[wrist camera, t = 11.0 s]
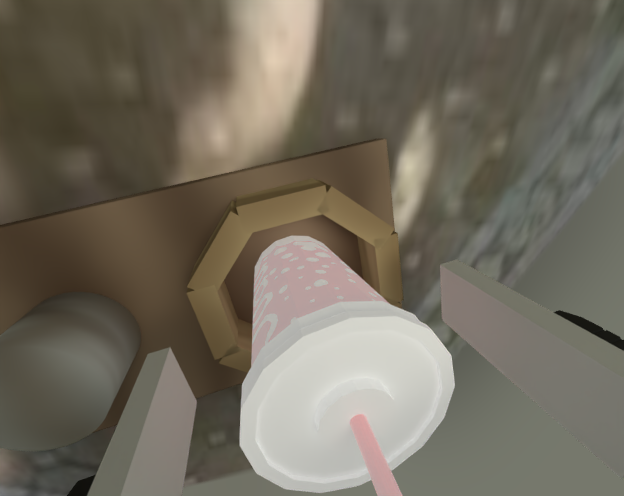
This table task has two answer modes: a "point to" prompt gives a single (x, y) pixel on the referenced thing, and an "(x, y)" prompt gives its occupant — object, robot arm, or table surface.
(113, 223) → the fitting board
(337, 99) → the table surface
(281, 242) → the beverage cup
